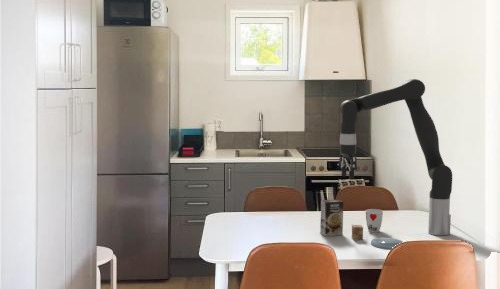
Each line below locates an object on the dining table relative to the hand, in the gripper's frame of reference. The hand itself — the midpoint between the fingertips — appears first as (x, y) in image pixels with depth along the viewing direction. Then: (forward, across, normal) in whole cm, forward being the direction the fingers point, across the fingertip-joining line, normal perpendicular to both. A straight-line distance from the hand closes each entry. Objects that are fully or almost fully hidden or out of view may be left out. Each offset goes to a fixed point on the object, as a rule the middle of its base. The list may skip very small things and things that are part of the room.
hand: (347, 177), depth 264 cm
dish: (+27, -22, -9) cm, 36 cm away
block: (+27, -10, -1) cm, 29 cm away
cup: (+27, +1, -15) cm, 31 cm away
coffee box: (+27, +1, +7) cm, 28 cm away
